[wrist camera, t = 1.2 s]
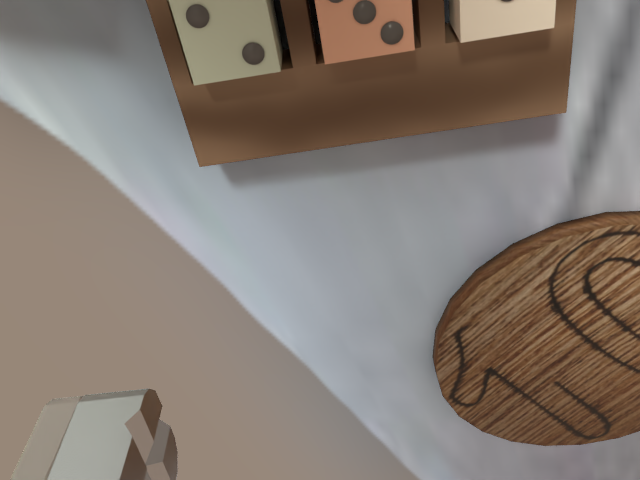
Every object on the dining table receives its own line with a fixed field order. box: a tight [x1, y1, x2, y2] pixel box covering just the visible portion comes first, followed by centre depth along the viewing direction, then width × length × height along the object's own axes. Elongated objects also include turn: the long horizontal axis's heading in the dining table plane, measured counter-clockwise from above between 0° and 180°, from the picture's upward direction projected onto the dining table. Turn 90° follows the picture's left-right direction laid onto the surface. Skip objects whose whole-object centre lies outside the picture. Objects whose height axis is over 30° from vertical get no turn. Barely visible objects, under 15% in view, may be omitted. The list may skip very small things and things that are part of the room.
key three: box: [315, 0, 415, 65], centre depth 30 cm, size 4×4×3 cm
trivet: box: [433, 211, 640, 446], centre depth 49 cm, size 25×25×2 cm
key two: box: [169, 0, 283, 86], centre depth 31 cm, size 4×4×3 cm
